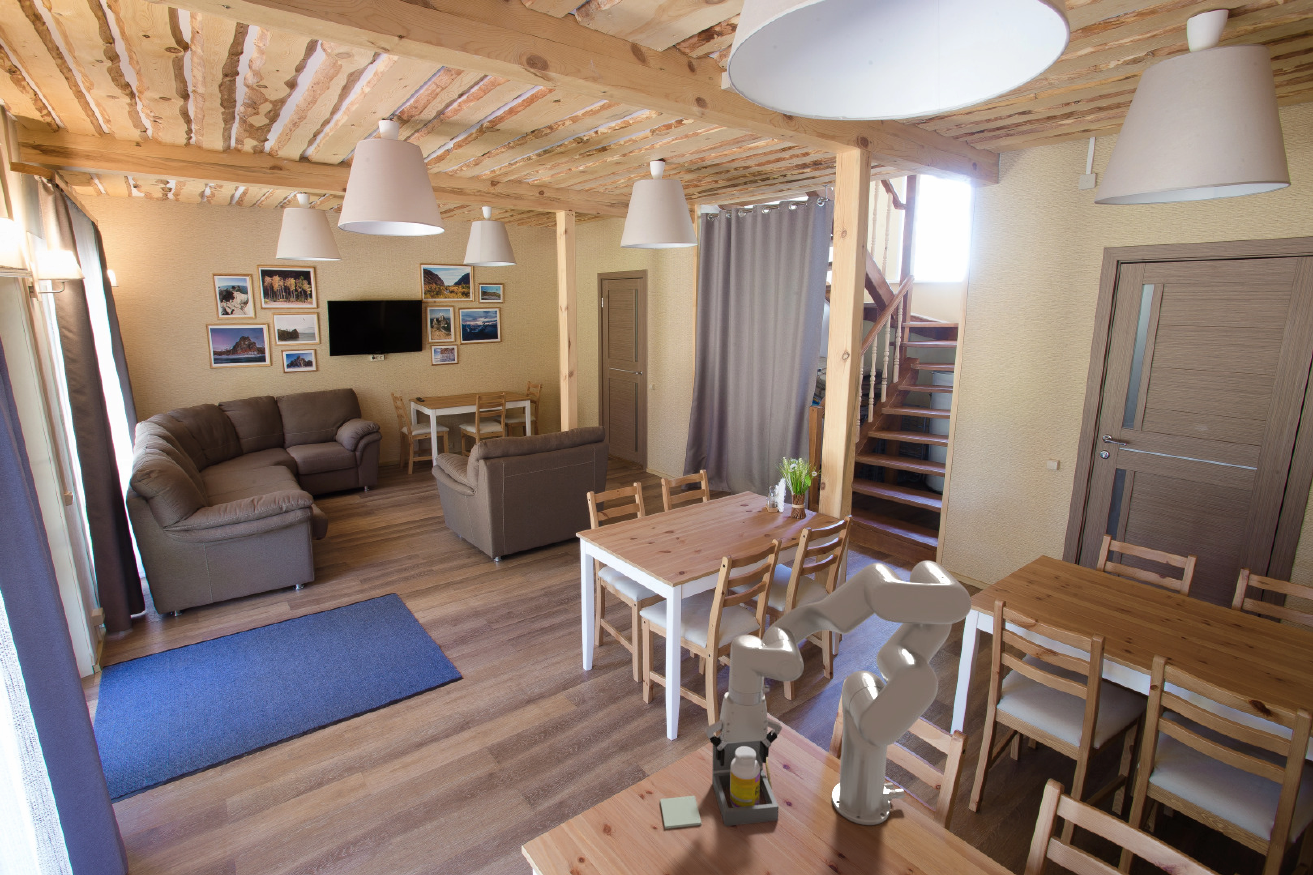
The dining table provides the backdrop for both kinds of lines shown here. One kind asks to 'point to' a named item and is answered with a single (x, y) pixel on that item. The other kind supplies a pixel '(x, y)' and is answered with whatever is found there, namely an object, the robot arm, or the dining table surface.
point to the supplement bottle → (744, 778)
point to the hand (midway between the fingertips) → (741, 760)
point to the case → (723, 781)
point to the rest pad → (680, 812)
